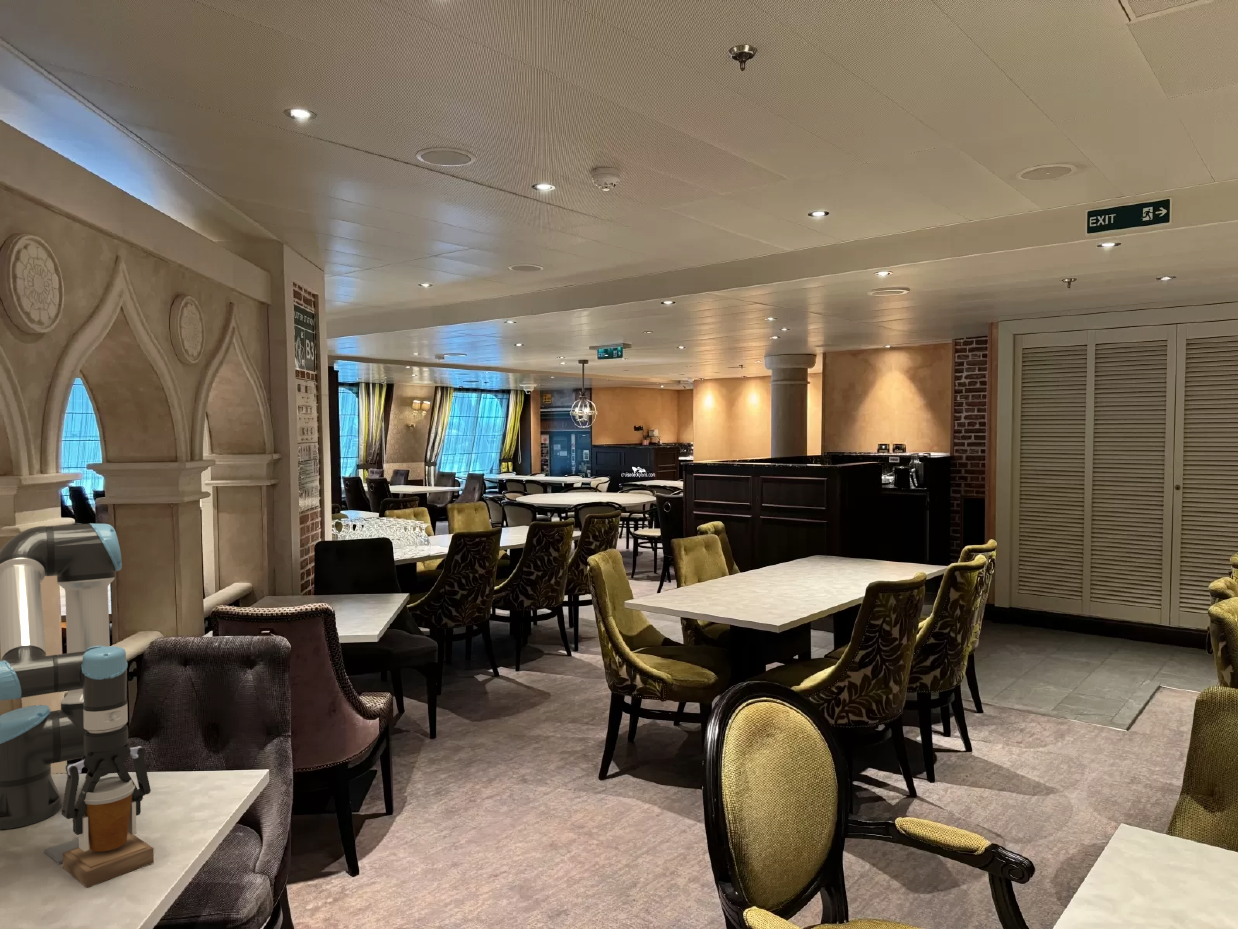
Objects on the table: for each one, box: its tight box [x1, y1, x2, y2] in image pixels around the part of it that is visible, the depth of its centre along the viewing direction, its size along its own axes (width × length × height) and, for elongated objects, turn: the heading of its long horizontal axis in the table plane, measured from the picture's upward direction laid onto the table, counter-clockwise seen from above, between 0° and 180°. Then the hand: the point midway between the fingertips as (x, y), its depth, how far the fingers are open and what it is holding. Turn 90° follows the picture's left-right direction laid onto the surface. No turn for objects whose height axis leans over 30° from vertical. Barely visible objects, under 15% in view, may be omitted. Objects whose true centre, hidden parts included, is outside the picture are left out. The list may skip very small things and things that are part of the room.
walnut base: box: [62, 832, 155, 888], centre depth 169 cm, size 12×12×3 cm
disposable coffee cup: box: [82, 775, 136, 851], centre depth 169 cm, size 10×10×12 cm
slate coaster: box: [44, 837, 89, 865], centre depth 175 cm, size 8×8×1 cm
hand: (108, 840), depth 169 cm, fingers closed on disposable coffee cup, 8 cm apart
